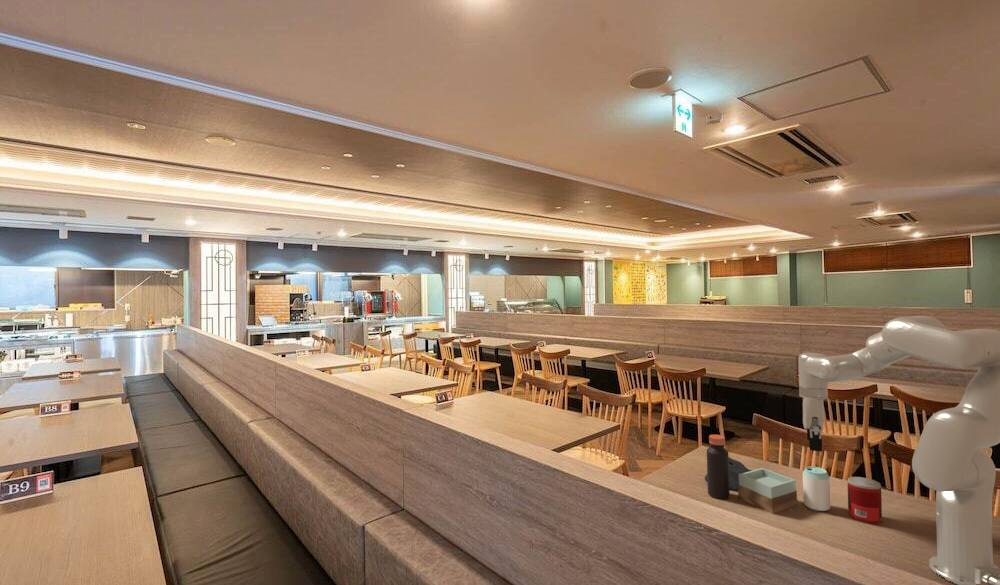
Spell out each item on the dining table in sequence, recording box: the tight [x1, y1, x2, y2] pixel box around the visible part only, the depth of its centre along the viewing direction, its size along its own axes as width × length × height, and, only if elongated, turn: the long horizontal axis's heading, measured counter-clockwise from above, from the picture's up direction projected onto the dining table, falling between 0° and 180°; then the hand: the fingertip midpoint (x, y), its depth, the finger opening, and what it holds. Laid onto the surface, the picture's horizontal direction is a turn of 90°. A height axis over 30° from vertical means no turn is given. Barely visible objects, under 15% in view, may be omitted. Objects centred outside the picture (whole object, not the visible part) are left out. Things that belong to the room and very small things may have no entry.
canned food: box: [847, 476, 883, 525], centre depth 139 cm, size 8×8×11 cm
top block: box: [739, 467, 797, 499], centre depth 152 cm, size 12×12×4 cm
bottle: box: [706, 434, 731, 500], centre depth 158 cm, size 7×7×20 cm
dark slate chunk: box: [704, 456, 752, 492], centre depth 171 cm, size 15×22×5 cm
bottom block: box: [737, 485, 798, 515], centre depth 152 cm, size 12×12×5 cm
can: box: [802, 466, 831, 512], centre depth 147 cm, size 7×7×12 cm
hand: (814, 445), depth 147 cm, fingers open, 9 cm apart
